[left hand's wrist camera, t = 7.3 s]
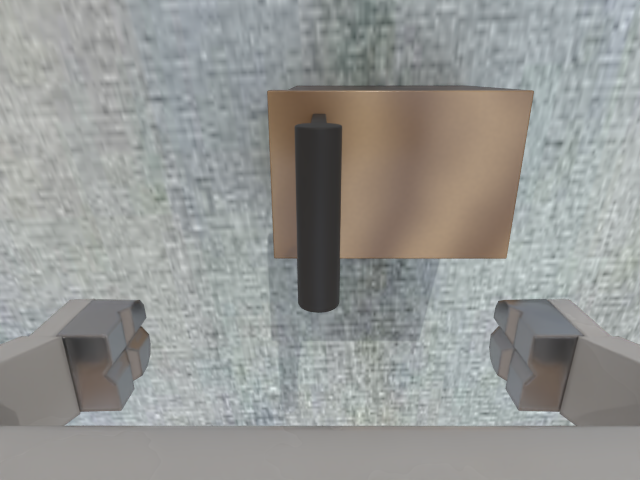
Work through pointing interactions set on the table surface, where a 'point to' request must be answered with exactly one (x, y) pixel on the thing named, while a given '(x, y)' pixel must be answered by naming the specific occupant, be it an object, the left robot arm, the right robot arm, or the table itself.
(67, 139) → the table surface
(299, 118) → the lid
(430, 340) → the table surface
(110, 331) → the left robot arm
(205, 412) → the table surface
